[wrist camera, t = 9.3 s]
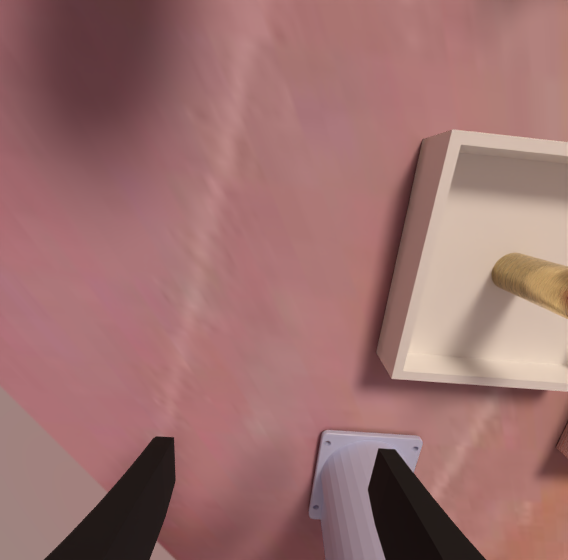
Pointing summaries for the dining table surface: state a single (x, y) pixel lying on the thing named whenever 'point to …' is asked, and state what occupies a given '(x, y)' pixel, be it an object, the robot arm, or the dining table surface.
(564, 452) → the grey square socket block
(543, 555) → the dining table surface
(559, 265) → the pin
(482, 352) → the tray
